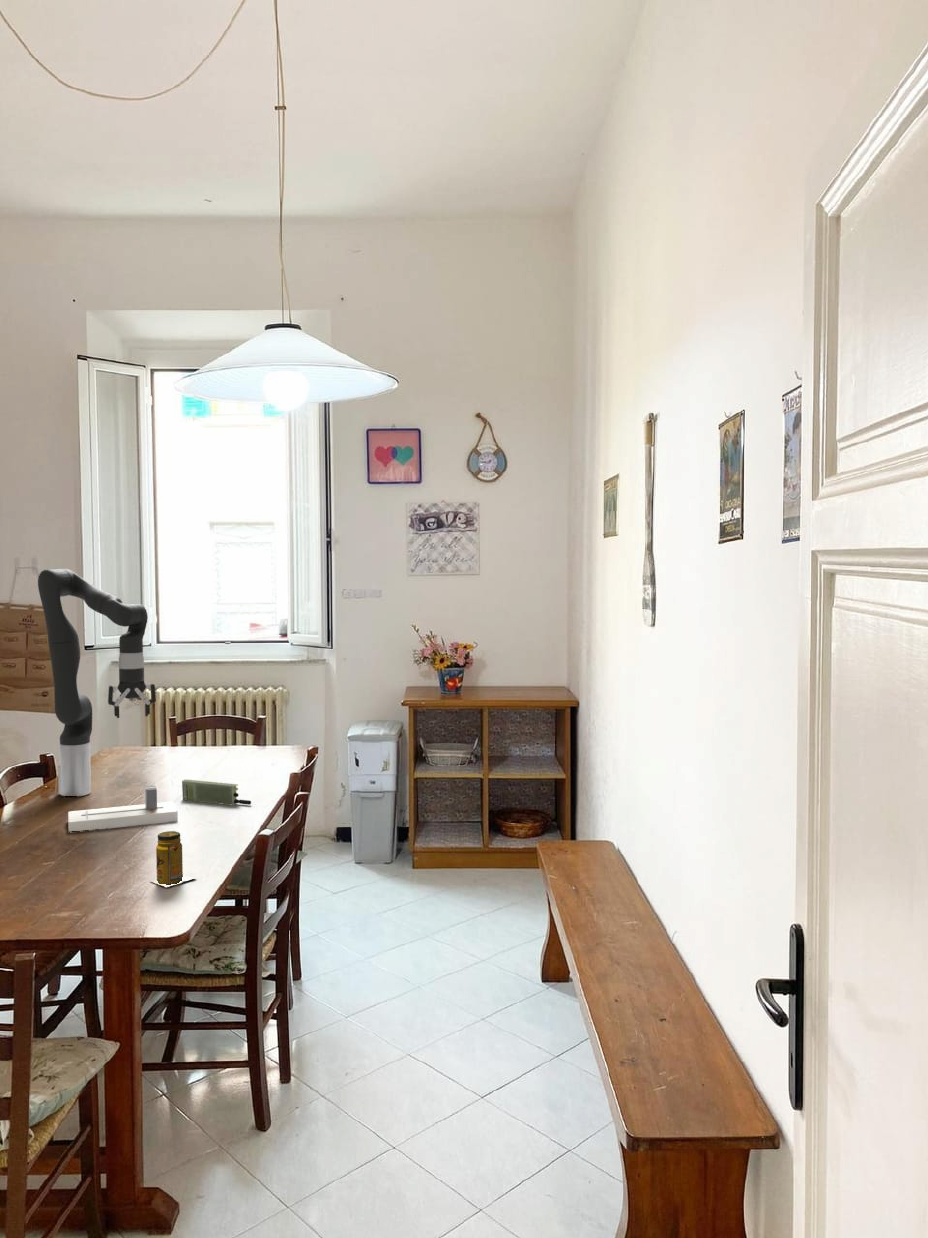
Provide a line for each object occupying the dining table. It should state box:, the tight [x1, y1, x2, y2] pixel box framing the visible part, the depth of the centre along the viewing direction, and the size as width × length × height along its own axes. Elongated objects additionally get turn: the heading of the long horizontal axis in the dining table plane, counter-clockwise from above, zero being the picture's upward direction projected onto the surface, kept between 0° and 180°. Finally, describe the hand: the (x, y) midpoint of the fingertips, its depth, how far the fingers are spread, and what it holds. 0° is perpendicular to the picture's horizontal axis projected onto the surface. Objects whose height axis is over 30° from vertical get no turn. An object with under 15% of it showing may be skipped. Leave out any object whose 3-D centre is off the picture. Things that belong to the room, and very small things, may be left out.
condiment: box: [155, 830, 184, 885], centre depth 220 cm, size 7×8×12 cm
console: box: [67, 801, 179, 832], centre depth 270 cm, size 30×12×3 cm, turn 114°
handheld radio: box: [181, 778, 252, 806], centre depth 292 cm, size 7×3×25 cm
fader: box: [144, 785, 158, 810], centre depth 273 cm, size 3×5×6 cm, turn 24°
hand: (132, 716), depth 288 cm, fingers open, 8 cm apart
